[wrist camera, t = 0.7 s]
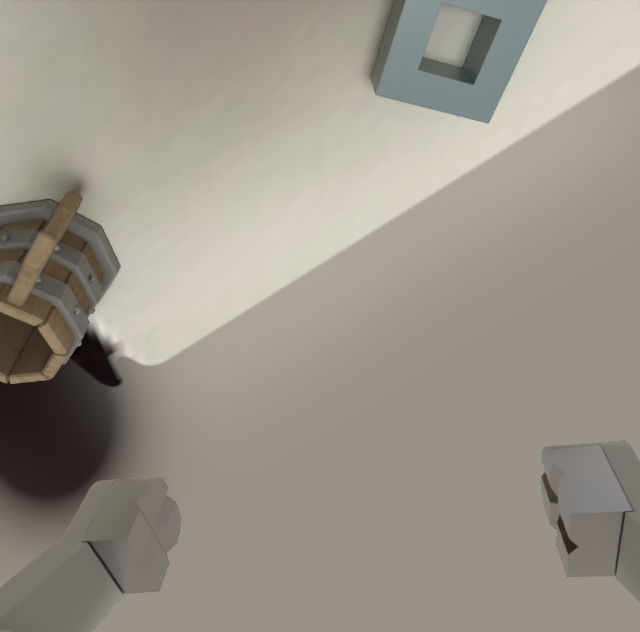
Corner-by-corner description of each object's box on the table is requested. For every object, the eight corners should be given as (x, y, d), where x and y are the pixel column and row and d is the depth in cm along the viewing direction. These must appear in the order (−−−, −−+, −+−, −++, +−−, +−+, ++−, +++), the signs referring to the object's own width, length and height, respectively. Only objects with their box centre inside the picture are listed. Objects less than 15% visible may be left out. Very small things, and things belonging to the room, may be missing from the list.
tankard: (89, 313, 63) (45, 416, 52) (-24, 262, 58) (-101, 366, 47) (167, 193, 53) (132, 290, 42) (36, 117, 47) (-44, 206, 36)
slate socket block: (412, -60, 39) (422, -51, 36) (533, -22, 41) (552, -10, 38) (370, 77, 46) (375, 94, 43) (476, 105, 47) (488, 123, 45)
